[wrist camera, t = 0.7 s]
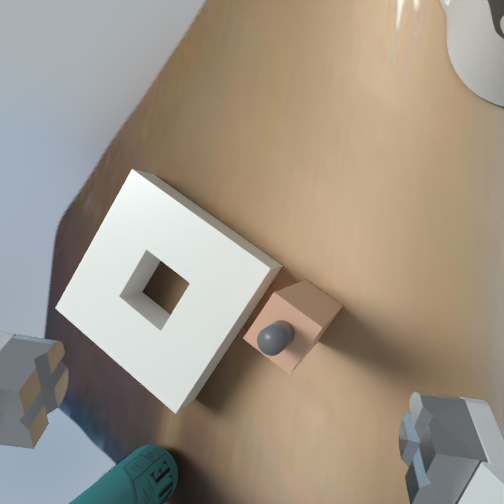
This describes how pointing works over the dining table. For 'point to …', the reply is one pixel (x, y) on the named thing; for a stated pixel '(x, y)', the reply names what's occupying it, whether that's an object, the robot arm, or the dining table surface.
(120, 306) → the socket
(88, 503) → the beverage bottle
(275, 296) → the plug
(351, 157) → the dining table surface
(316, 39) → the dining table surface
